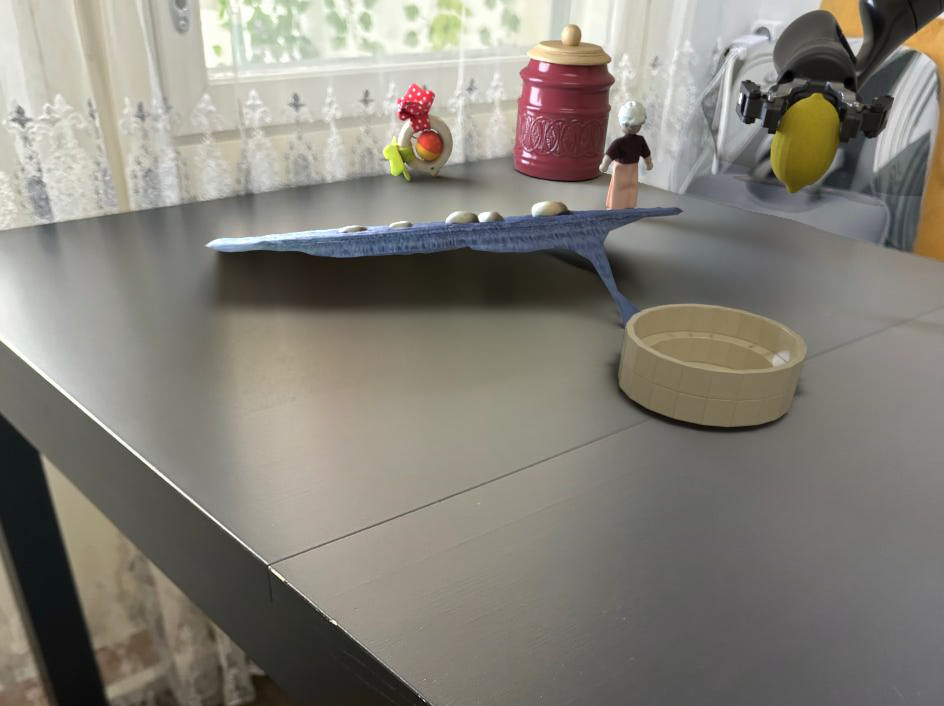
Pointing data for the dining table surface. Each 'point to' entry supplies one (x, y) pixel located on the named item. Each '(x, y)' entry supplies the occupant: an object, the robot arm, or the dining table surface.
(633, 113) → the grandmother figurine
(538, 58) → the kitchen canister
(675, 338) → the bowl
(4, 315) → the dining table surface
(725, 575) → the dining table surface
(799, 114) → the lemon
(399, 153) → the bird rattle
